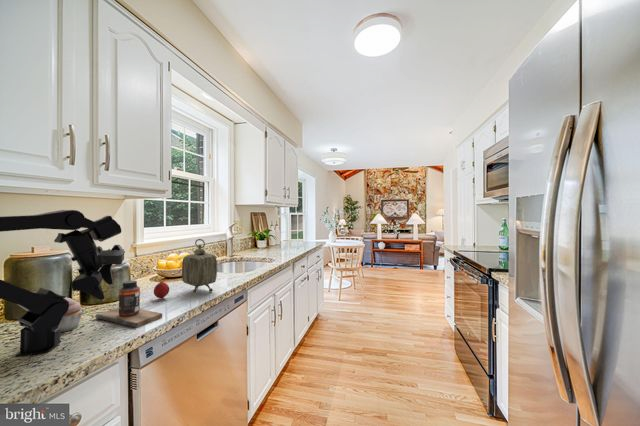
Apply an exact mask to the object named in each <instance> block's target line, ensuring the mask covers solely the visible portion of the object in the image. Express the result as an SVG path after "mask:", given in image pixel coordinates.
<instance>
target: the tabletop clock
mask: <svg viewBox="0 0 640 426" xmlns="http://www.w3.org/2000/svg"><path fill="white" fill-rule="evenodd" d="M199 241H201V242H202V243H203V246H202V245H201V244H197V243H198V242H199ZM194 242H195V243H194V244H195V247H197V248H196V249H195V250H194V252H193V253H192V254H187V255H185V256H184V257H183V258H182V262H181V263H182V265H181V279H182V282H183V283H184V284H187V285H189V286H192V287H194V289H193V290H192V292H193V293H194V294H196V293H197V291H198V290H197V289H198V288H200V287H201V286H205V287H207V288H208V291H209V292H210V293H212V292H213V291H214V290H213V288H211V287H210V284H215V283H216V281H217V277H218V262H217V257H216V255H215V254H213V253H210V252H206V250H205V249H204V247H205V246H206V242H205V240H204V239H201V238H198V239H196V240H195V241H194Z"/></svg>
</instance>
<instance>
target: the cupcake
mask: <svg viewBox="0 0 640 426" xmlns="http://www.w3.org/2000/svg"><path fill="white" fill-rule="evenodd" d="M63 299H65V300H67V301H68V302H69V309H68V311H67V312H66V314H65V315H64V316H63V317H62V320H61V322H60V324H59V326H58V328H60V333H63V332H68V331H71V330H74V329H76V328H78V327H79V325H80V322H81V319H82V315H83V314H84V312H85V310H86V309H85V308H84V309H83V308H82V305H81V304H80V302H78V301H74V300H73V299H72V298H70V297H67V296H66V297H65V298H63Z"/></svg>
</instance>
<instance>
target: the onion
mask: <svg viewBox="0 0 640 426" xmlns="http://www.w3.org/2000/svg"><path fill="white" fill-rule="evenodd" d="M169 293H170V287H169V285H168V284H167V283H166V282H165V280H162V279H161V280H160V281H159V283H157V284H156V285H155V287H154V289H153V296H155V297H156V298H158V299H160V300H163V299H164V298H165V297H166V296H168V294H169Z"/></svg>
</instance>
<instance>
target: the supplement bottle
mask: <svg viewBox="0 0 640 426" xmlns="http://www.w3.org/2000/svg"><path fill="white" fill-rule="evenodd" d="M118 292H119V293H118V308H119V315H120V316H131V315H135V314H137V313H138V312H139V309H141V308H140V307H141V306H140V304H141V303H140V302H141V300H140V299H141V289H140V286H138V283H137V280H135V279H134V280H133V279H131V280H125V281H123V282H122V287H121V288H120V289H119V291H118Z"/></svg>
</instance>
